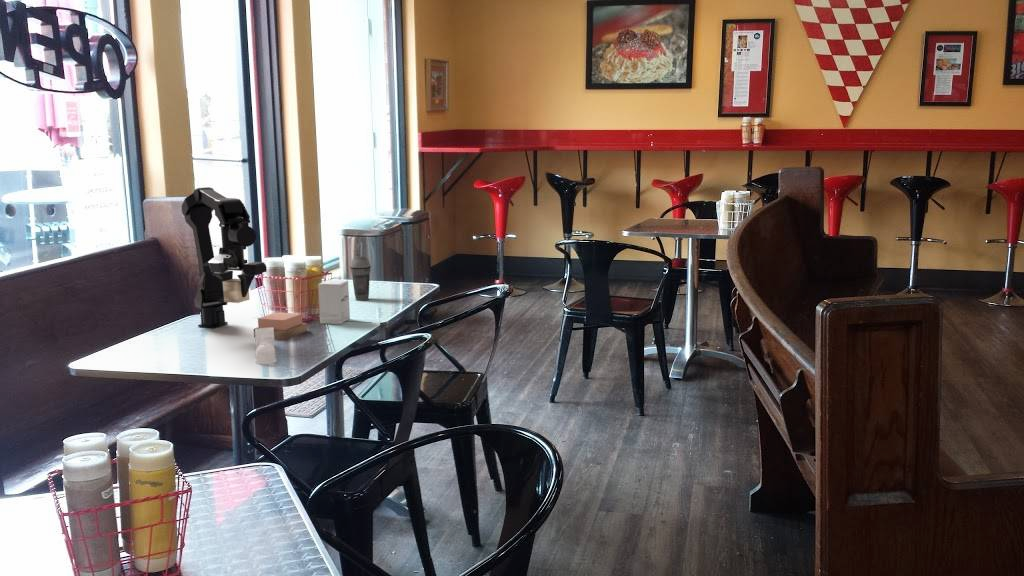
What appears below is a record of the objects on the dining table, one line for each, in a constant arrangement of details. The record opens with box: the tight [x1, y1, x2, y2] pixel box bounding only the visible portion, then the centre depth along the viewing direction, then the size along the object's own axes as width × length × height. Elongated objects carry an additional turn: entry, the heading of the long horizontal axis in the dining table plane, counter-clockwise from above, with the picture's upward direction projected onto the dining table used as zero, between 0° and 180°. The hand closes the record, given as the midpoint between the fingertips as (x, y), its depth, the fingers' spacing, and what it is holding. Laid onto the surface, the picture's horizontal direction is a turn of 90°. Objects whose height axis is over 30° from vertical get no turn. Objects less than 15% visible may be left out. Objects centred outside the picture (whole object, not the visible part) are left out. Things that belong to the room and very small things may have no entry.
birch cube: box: [223, 278, 250, 304], centre depth 258 cm, size 5×5×6 cm
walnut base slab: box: [253, 322, 308, 341], centre depth 264 cm, size 11×11×3 cm
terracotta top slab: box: [257, 311, 303, 330], centre depth 264 cm, size 9×9×3 cm
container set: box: [254, 327, 277, 365], centre depth 241 cm, size 20×5×6 cm, turn 16°
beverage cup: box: [349, 242, 372, 302], centre depth 310 cm, size 7×7×20 cm
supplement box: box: [317, 279, 351, 325], centre depth 278 cm, size 7×7×13 cm
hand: (236, 296), depth 259 cm, fingers closed on birch cube, 5 cm apart
